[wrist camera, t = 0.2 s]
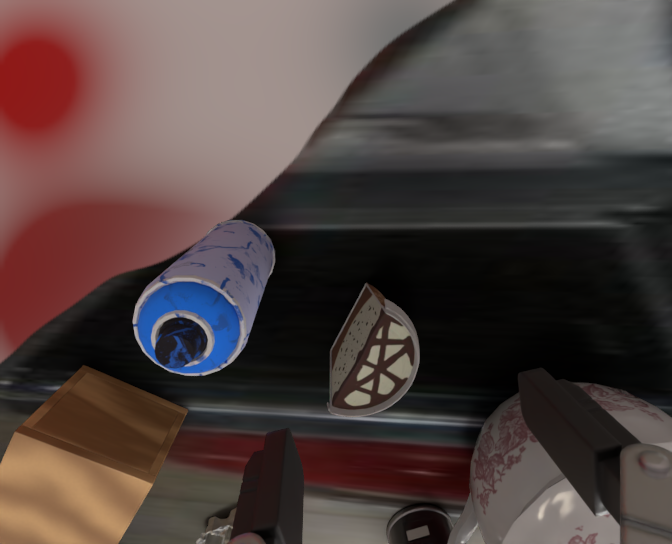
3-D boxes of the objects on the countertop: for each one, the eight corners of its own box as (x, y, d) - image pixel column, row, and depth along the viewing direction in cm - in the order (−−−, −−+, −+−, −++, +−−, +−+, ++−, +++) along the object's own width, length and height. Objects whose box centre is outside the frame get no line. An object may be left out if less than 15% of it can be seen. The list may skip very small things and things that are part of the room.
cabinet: (137, 497, 50) (92, 587, 40) (38, 461, 48) (-37, 547, 37) (188, 409, 47) (153, 484, 36) (83, 364, 44) (14, 431, 34)
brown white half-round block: (370, 378, 47) (384, 438, 37) (324, 360, 45) (327, 417, 36) (420, 292, 43) (450, 333, 34) (372, 270, 42) (389, 307, 33)
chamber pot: (676, 355, 48) (927, 501, 28) (594, 518, 56) (744, 718, 37) (463, 326, 45) (579, 468, 25) (410, 503, 53) (467, 711, 34)
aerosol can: (218, 206, 39) (128, 264, 20) (287, 240, 41) (265, 324, 22) (189, 271, 41) (83, 380, 22) (256, 301, 43) (212, 427, 24)
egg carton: (269, 491, 51) (266, 520, 48) (292, 529, 54) (291, 558, 50) (198, 518, 52) (189, 548, 48) (224, 554, 54) (217, 585, 51)
